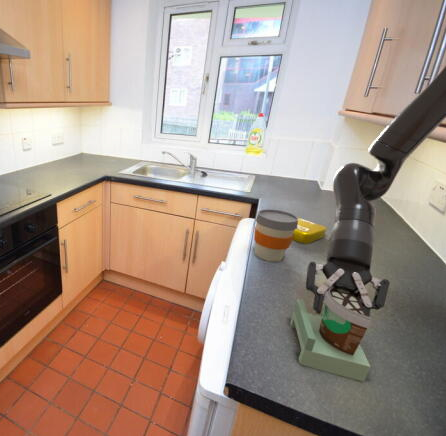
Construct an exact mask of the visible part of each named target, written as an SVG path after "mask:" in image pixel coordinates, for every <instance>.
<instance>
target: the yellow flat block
mask: <svg viewBox="0 0 446 436" xmlns="http://www.w3.org/2000/svg"><path fill="white" fill-rule="evenodd" d="M297 218H298V225H297V229H295V231H294V237H293V239H292V241H294V242H297V243H299V244H303V245H308V244H311V243H313V242H316V241H318V240H320V239H323V238H324V237H325V234H326V231H327V227H326V226H325V225H321V224H318V223H315V222H312V221H309V220H306V219H304V218H301V217H297Z"/></svg>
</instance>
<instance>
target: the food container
mask: <svg viewBox="0 0 446 436" xmlns="http://www.w3.org/2000/svg"><path fill="white" fill-rule="evenodd" d="M323 295H324V300H323V303H324V308H323V311H322V315H321V316H322V320H321V324H320V328H319V332H320V335H321V336H322V338H323V339H324V340H325V341H326V342H327V343H329V344H330V345H331V346H333V347H334V348H336V349H338V350H340V351H342V352H344V353H347V354H350V355H354V353H355V351H356V349H357V347H358V346H359V344H360V345H361V342H362V340H363V338H364V336H365V335H366V332H367V330H369V329H371V325H372V320H373V317H371V316H370V317H368V316H366V314H365V311H364V309H363V306H362V304H361V301H360V300H359V299H358V297H357V296H356V294H355V293H354V292H349V291H346V290H344V289H337V288H334V286H333V285H331V286H330V287H329V288H328V289H327V290H326V291H325V292H324V293H323Z"/></svg>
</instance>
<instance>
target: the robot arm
mask: <svg viewBox="0 0 446 436" xmlns="http://www.w3.org/2000/svg"><path fill="white" fill-rule="evenodd" d="M445 120H446V65H445V66H444V67H443V68H442V69H441V71H440V72H439V73H438V74H437V75H436V76H435V78H433V80H432V81H431V82H430V83H429V84H428V85H427V87H425V88H424V89H423V90H422V92H420V93H419V94H418V95H417V96H416V97H415V98H413V100H412V101H411V102H410V103H408V104H407V105H406V106H405V107H404V108H403V109H401V111H400V112H399V113H398V114H397V115H396V116H395V117H394V118H393V119H392V120H391V121H390V122H389V123H388V125H386V127H385V128H384V129H383V131H381V132H380V134H379V135H378V136H377V137H376V139H374V141H373V142H372V143H371V145H370V146H369V147H368V149H367V151H368V155H370V157H371V156H372V158H373V159H375V160H376V161H377V165H376V168H375V169H372V168H370V167H368V166H365V165H362V164H360V163H357V162H349V163H346V164H343V165H342V166H341V167H340V168H339V169H337V170H336V172H335V174H334V176H333V179H332V193H333V196H334V203H335V207H336V212H335V216H334V217H335V218H334V223H333V227H332V230H331V232H330V236H329V240H328V241H329V243H328V247H327V248H328V249H327V255H326V260H325V263H324V264H319V263H316V262H315V261H310V262H309V264H308V265H307V268H306V279H305V280H306V282H305V290H307V291H309V292H311V293H313V296H314V298H313V302H312V310H313V311H315V314H316V315H321V313H322V312H323V311H322V310H323V306H324V294H325V292H326V291H327V289H328V288H330V287H331V286H332V285H333V286H334V288H337V289H344V290H346V291H349V292H354V293H355V294H356V296H357V297H358V299H359V300H360V301H361V304H362V306H363V309H364V311H365V314H366V316H368V317H371V310H376V311H377V310H380V309H381V308H384V307H385V305H386V304H385V303H386V299H387V295H388V293H389V292H388V291H389V288H390V280H388V278H387V279H386V278H383V279H380V278H377V277H373V275H372V274H371V266H372V258H373V250H374V244H375V243H374V242H375V224H376V214H377V209H376V206H375V205H374V204H373V203H371V202H374V201H376V200H378V199H381V198H382V197H383V196H385V195H386V194H387V193H388V191H390V188H391V187H392V185H393V184H394V182H395V179H396V177H397V175H398V174H399V172H400V170H401V169H402V167H403V166H404V165H403V164H405V162H406V160H407V159H408V158H409V157H410V156H411V155H412V154H413V153H414V152H415V151H416V150H417V149H418V148H419V147H420V146H421V145H422V144H423V143H424V142H425V141H426V139H427V138H429V136H430V135H431V134H432V133H433V132H434V131H435V130H436V129H437V128H438V127H439V126H440V125H441V123H442V122H444V121H445ZM321 271H322V273H323V275H324V277H325V278H326V279H327V280H325V281H324V282H323V284H321V285H320V286H317V285H316V275H318V274H319V273H320V272H321ZM369 283H371V284H372V288H373V289H374V295H373V299H372V301H371V299H370V297H369V293H368V290H367V289H366V285H368V284H369Z"/></svg>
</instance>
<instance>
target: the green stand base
mask: <svg viewBox="0 0 446 436" xmlns="http://www.w3.org/2000/svg"><path fill="white" fill-rule="evenodd" d="M321 320H322V315H319V314H313V313H309V312H308V311H307V307H306V304H305V301H304V300H301V299H297V300H296V303H295V306H294V309H293V313H292V317H291V320H290V324H289V325H290V328H293V329H295V330H296V333H297V337H298V342H299V346H300V349H301V350H300V353H299V356H298V363H299V365H300V366H304V367H308V368H311V369H314V370H315V369H316V370H319V371H323V372H326V373H330V374H333V375H336V376H340V377H344V378H348V379H351V380H355V381H359V382H363V383H364V382H365V380H366V378H367V377H368V374H369V372H370V369H371V368H372V367H371V364H370V362H369V360H368V358H367V356H366V354H365V352H364V350H363V348H362V346H361V343H360V344H359V346H358V347H357V349H356V351H355V353H354V355H350V354H347V353H344V352H342V351H340V350H338V349H336V348H334V347H333V346H331V345H330V344H329V343H327V342H326V341H325V340H324V339H323V338H322V336H321V335H320V332H319V328H320V324H321Z"/></svg>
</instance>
